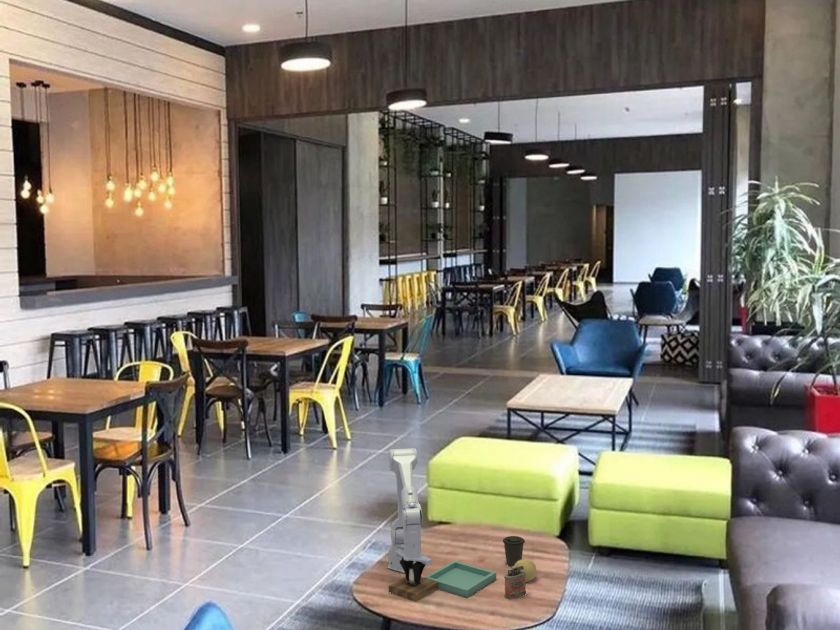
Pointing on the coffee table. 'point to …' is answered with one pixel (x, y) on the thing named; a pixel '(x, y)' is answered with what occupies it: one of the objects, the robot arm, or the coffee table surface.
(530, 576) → the apple
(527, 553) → the coffee table surface
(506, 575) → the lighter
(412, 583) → the pin
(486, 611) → the coffee table surface
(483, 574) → the tray
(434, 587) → the pin block
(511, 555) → the coffee cup
